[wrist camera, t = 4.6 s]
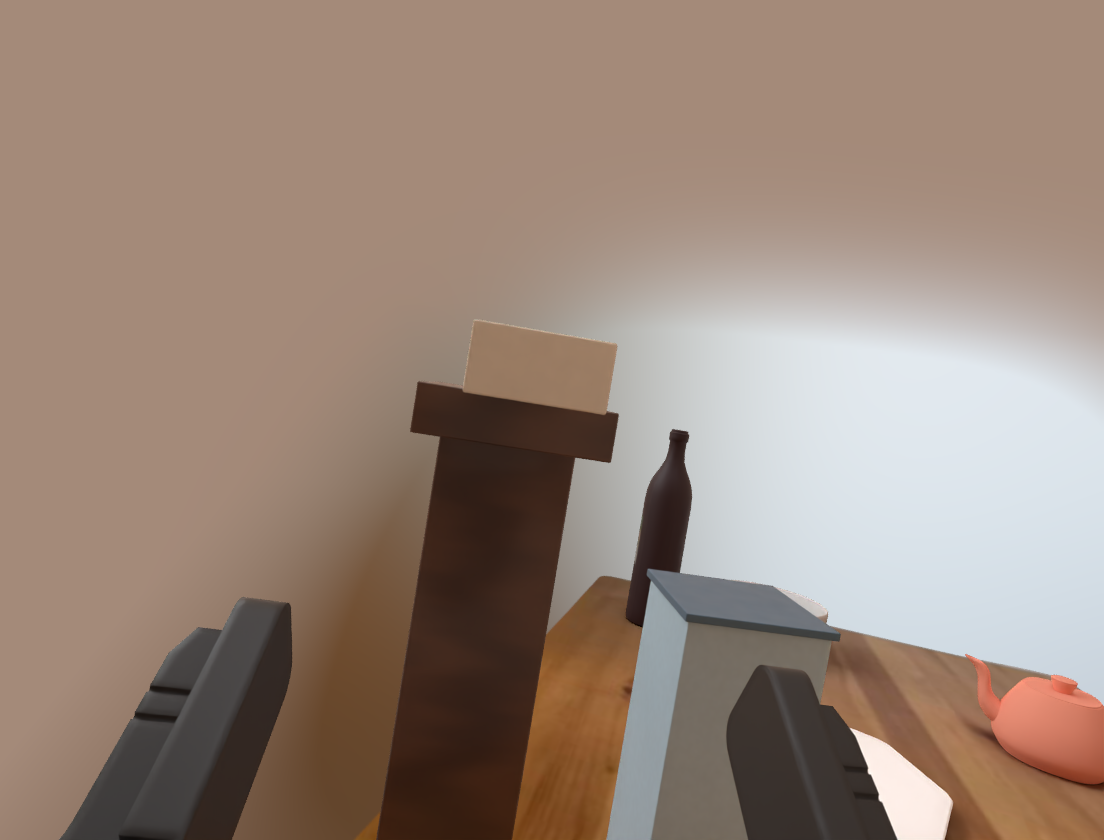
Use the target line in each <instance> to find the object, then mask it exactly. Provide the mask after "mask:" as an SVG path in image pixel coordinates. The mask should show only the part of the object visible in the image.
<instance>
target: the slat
mask: <svg viewBox="0 0 1104 840" xmlns="http://www.w3.org/2000/svg"><path fill="white" fill-rule="evenodd" d="M616 351H617V344H616V343H610V342H604V341H598V340H593V339H587V338H581V337H575V336H570V335H563V334H558V333H552V332H547V331H541V330H535V329H529V328H523V327H518V326H512V325H506V324H500V323H495V322H489V321H483V320H477V319H475V320H474V321H473V327H472V334H471V340H470V346H469V353H468V360H467V366H466V372H465V378H464V385H463V392H465V393H472V394H478V395H484V396H490V397H496V398H502V399H509V400H515V401H521V402H527V403H533V404H539V405H546V406H552V407H558V408H564V409H570V410H576V411H583V412H589V413H595V414H601V415H605V414H606V411H607V405H608V399H609V393H610V387H611V381H612V375H613V369H614V363H615V357H616Z"/></svg>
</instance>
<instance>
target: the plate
mask: <svg viewBox="0 0 1104 840" xmlns="http://www.w3.org/2000/svg"><path fill="white" fill-rule="evenodd" d="M850 730H851V731H852V732H853V733H854V735H855V736H856V739H857V741H858V744H859V746H860V749H861V751H862V754H863V756H864V758H865V761H866V763H867V766H868V773H869V774H871V776H872V778H873V781H874V783H875V785H876V788H877V790H878V793H879V801H881V802H882V803H883V805H884V808H885V810H886V813H887V815H888V817H889V820H890V822H891V825H892V827H893V830H894V832H895V835H896V837H897V840H945V836H946V832H947V827H948V823H949V819H950V814H951V810H952V806H953V801H952V800H951V798H950V797H949V795H948V794H947V793H946V792H945V791H944V790H942V789H941V788H940V787H939V786H938V785H936V784H935V783H934V782H933V781H931V780H930V779H929V778H928V777H927V776H925V775H924V774H923V773H922V772H921V771H919V770H918V769H917V768H916V767H915V766H913V765H912V764H911V763H910V762H909V761H907V760H906V759H905V758H904V757H903V756H901V755H900V754H899V753H898V752H897V751H895V750H894V749H893V748H892V747H891V746H889V745H888V744H886V743H884V742H883V741H881V740H879V739H877V738H874V737H871V736H869V735H866V734H864V733H861V732H859V731H856V730H854V729H851V728H850Z"/></svg>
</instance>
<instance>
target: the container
mask: <svg viewBox="0 0 1104 840" xmlns="http://www.w3.org/2000/svg"><path fill="white" fill-rule="evenodd" d="M647 576H648V577H649V578H650V580H651V583H650V589H649V595H648V601H647V607H646V612H645V618H644V624H643V630H642V636H641V642H640V648H639V653H638V659H637V665H636V671H635V677H634V683H633V688H632V694H631V700H630V706H629V712H628V718H627V723H626V729H625V735H624V741H623V747H622V753H621V758H620V764H619V770H618V776H617V782H616V788H615V794H614V799H613V805H612V811H611V817H610V823H609V829H608V834H607V840H748V837H747V833H746V829H745V824H744V820H743V816H742V811H741V807H740V803H739V798H738V794H737V790H736V786H735V781H734V777H733V773H732V768H731V764H730V760H729V755H728V750H727V743H726V731H727V723H728V718H729V715H730V713H731V711H732V709H733V708H734V706H735V704H736V702H737V700H738V699H739V697H740V695H741V693H742V691H743V690H744V688H745V686H746V684H747V682H748V681H749V679H750V677H751V675H752V674H753V672H754V670H755V669H756V667H757V666H759V665H768V666H776V667H784V668H792V669H800V670H803V671H804V672H806V673H807V675H808V676H809V678H810V680H811V682H812V684H813V687H814V690H815V692H816V695H817V698H818V700H819V703H820V702H821V697H822V691H823V686H824V680H825V675H826V669H827V664H828V658H829V653H830V647H831V642H832V641H838V642H839V641H840V635H841V634H840V633H838V632H837V631H836V630H834V629H833V628H831V627H830V626H829V625H827V624H826V623H824V622H823V621H822V620H820V619H819V618H817V617H816V616H814V615H813V614H812V613H810V612H809V611H807V610H806V609H805V608H803V607H802V606H800V605H799V604H797V603H796V602H795V601H793V600H792V599H790V598H789V597H788V596H786V595H785V594H783V593H782V592H780V591H779V590H778V589H776V588H775V587H773V586H769V585H762V584H755V583H748V582H740V581H733V580H725V579H719V578H711V577H704V576H697V575H690V574H682V573H675V572H668V571H661V570H653V569H648V570H647Z"/></svg>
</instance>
